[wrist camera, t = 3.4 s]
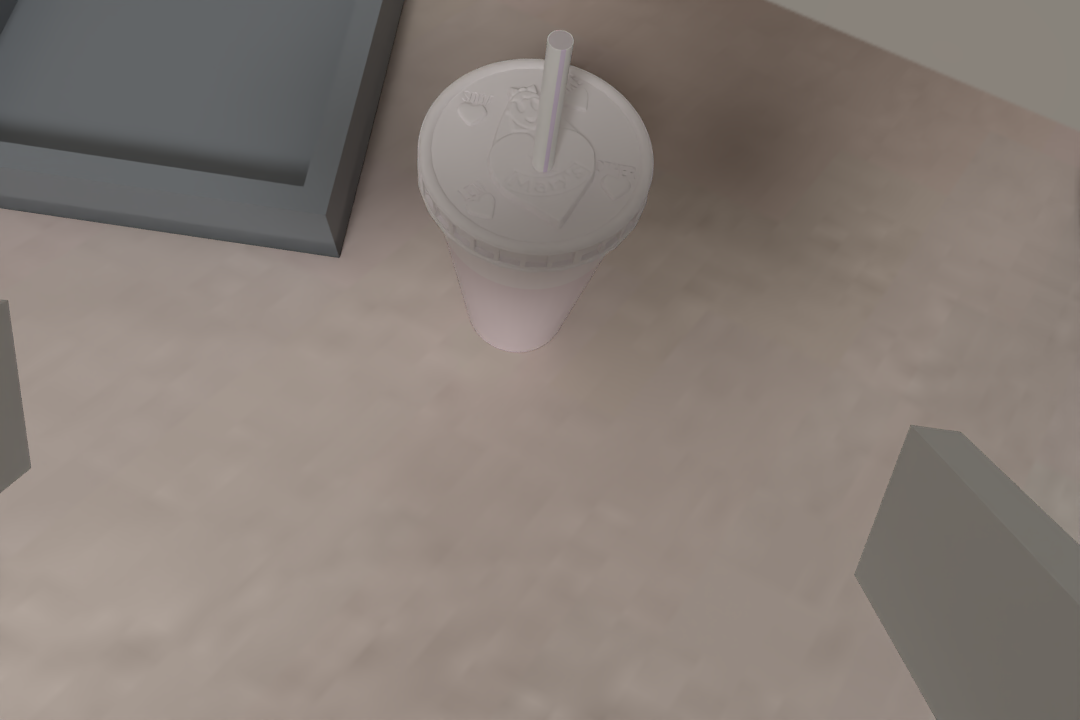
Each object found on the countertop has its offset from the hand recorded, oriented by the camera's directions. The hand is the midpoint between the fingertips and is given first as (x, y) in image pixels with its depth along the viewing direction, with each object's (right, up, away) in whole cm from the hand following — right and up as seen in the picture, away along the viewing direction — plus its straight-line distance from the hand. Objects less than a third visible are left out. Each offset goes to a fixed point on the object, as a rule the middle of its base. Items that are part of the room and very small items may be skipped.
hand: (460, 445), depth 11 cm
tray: (-13, +14, +20) cm, 28 cm away
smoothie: (0, +3, +18) cm, 18 cm away
